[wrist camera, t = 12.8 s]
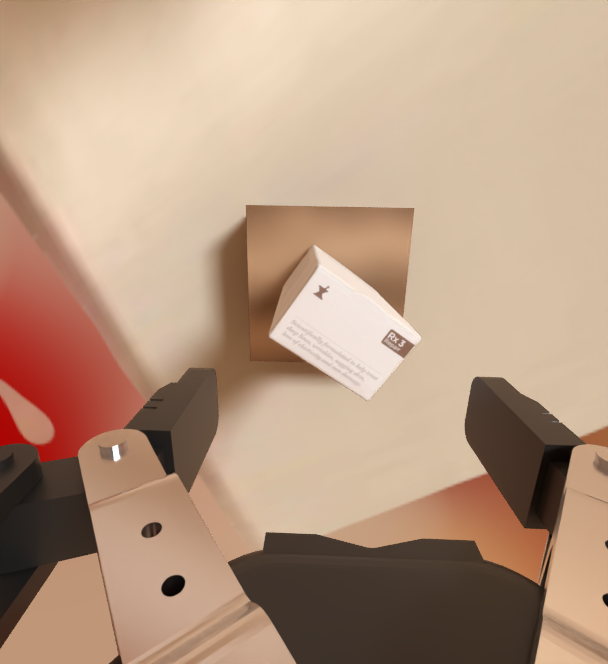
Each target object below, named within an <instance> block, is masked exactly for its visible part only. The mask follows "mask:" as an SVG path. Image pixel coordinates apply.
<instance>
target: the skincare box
mask: <svg viewBox="0 0 608 664" xmlns="http://www.w3.org/2000/svg"><path fill="white" fill-rule="evenodd" d="M269 338H271V339H272V340H274V341H275V342H277V343H278V344H280V345H281V346H283V347H285V348H286V349H288V350H289V351H291V352H292V353H294V354H295V355H297V356H298V357H300V358H302V359H303V360H305V361H306V362H308V363H309V364H311V365H312V366H314V367H315V368H317V369H319V370H320V371H322V372H323V373H325V374H326V375H328V376H329V377H331V378H332V379H334V380H336V381H337V382H339V383H340V384H342V385H343V386H345V387H346V388H348V389H349V390H351V391H352V392H354V393H356V394H357V395H359V396H360V397H362V398H364V399H365V400H366V401H369V400H370V399H371V398H372V397H373V395H374V394H375V393H376V392H377V391H378V389H379V388H380V387H381V386H382V385H383V383H384V382H385V381H386V380H387V379H388V377H389V376H390V375H391V374H392V373H393V372H394V370H395V369H396V368H397V367H398V366H399V365H400V363H401V362H402V361H403V360H404V359H405V357H406V356H407V355H408V354H409V353H410V352H411V351H412V349H413V348H414V347H415V346H416V345H417V344H418V343H419V342H420V340H421V337H420V336H419V334H418V333H417V332H416V331H415V330H414V329H413V328H412V327H411V326H410V325H409V324H408V323H407V322H406V321H405V320H404V319H403V318H402V317H401V316H400V315H399V314H398V313H397V312H396V311H395V310H394V309H393V308H392V307H391V306H390V305H389V304H388V303H387V302H386V301H385V300H384V299H383V298H382V297H381V296H380V295H379V293H378V292H377V291H376V290H374V289H373V288H372V287H371V286H369V285H368V284H367V283H366V282H364V281H363V280H362V279H360V278H359V277H358V276H356V275H355V274H354V273H352V272H351V271H350V270H348V269H347V268H346V267H344V266H343V265H342V264H340V263H339V262H338V261H336V260H335V259H334V258H332V257H331V256H329V255H328V254H327V253H325V252H324V251H322V250H321V249H320V248H318V247H317V246H316V245H312V246H311V247H310V249H309V250H308V252H307V253H306V254H305V256H304V257H303V258H302V260H301V261H300V263H299V264H298V265H297V267H296V268H295V270H294V271H293V273H292V274H291V275H290V277H289V278H288V280H287V281H286V283H285V284H284V286H283V288H282V292H281V295H280V299H279V302H278V305H277V308H276V311H275V315H274V317H273V321H272V325H271V327H270V331H269Z"/></svg>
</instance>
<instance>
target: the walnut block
mask: <svg viewBox="0 0 608 664" xmlns="http://www.w3.org/2000/svg"><path fill="white" fill-rule="evenodd" d="M413 215H414V208H372V207H317V206H262V205H246V224H247V260H248V295H249V331H250V361H285V362H306V361H305V360H303V359H302V358H300V357H298V356H297V355H295V354H294V353H292V352H291V351H289V350H288V349H286V348H285V347H283V346H281V345H280V344H278V343H277V342H275V341H274V340H272V339H271V338H269V331H270V327H271V325H272V321H273V317H274V315H275V311H276V308H277V305H278V302H279V299H280V295H281V292H282V288H283V286H284V284H285V283H286V281H287V280H288V278H289V277H290V275H291V274H292V273H293V271H294V270H295V268H296V267H297V265H298V264H299V263H300V261H301V260H302V258H303V257H304V256H305V254H306V253H307V252H308V250H309V249H310V247H311V246H312V245H316V246H317V247H318V248H320V249H321V250H322V251H324V252H325V253H327V254H328V255H329V256H331V257H332V258H334V259H335V260H336V261H338V262H339V263H340V264H342V265H343V266H344V267H346V268H347V269H348V270H350V271H351V272H352V273H354V274H355V275H356V276H358V277H359V278H360V279H362V280H363V281H364V282H366V283H367V284H368V285H369V286H371V287H372V288H373V289H374V290H376V291H377V292H378V293H379V295H380V296H381V297H382V298H383V299H384V300H385V301H386V302H387V303H388V304H389V305H390V306H391V307H392V308H393V309H394V310H395V311H396V312H397V313H398V314H399V315H400V316H401V317H402V318H403V313H404V303H405V293H406V283H407V274H408V264H409V254H410V244H411V235H412V225H413Z"/></svg>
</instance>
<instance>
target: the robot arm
mask: <svg viewBox="0 0 608 664" xmlns="http://www.w3.org/2000/svg"><path fill="white" fill-rule="evenodd" d="M217 427H218V397H217V380H216V372H215V370H214V369H209V368H189V369H188V370H187V371H186V373H185V374H184V375H183V376H182V378H181V379H180V380H179V381H178V383H170V384H168V385H166V386H164V387H163V388H161V389H159V390H158V391H157V392H156V393H155V394H154V395H153V396H152V397H151V398H150V401H148V402H147V403H146V404H145V405H144V407H143V409H141V410H140V411H139V412H138V413H137V414H136V415H135V417H134V418H133V419H132V420H131V421H130V422H129V423H128V424H127V426H126V427H125V428H124V429H119V430H114V431H109V432H106V433H103V434H100V435H98V436H96V437H94V438H92V439H91V440H89V441H88V442H87V443H85V444H84V445H83V446H82V447H81V449H80V450H79V453H78V456H77V457H72V458H66V459H60V460H54V461H47V462H41V463H40V458H39V454H38V450H37V449H36V448H35V447H34V446H32V445H29V444H10V445H5V446H1V447H0V648H1V647H2V645H3V644H4V642H5V641H6V639H7V638H8V636H9V634H10V633H11V632H12V630H13V629H14V627H15V626H16V624H17V623H18V621H19V620H20V618H21V617H22V615H23V614H24V612H25V611H26V609H27V608H28V606H29V605H30V603H31V602H32V600H33V599H34V598H35V596H36V595H37V593H38V592H39V590H40V588H41V587H42V586H43V584H44V583H45V581H46V580H47V578H48V577H49V575H50V574H51V572H52V571H53V569H54V568H55V566H56V564H57V563H58V561H62V560H67V559H71V558H75V557H80V556H84V555H88V554H92V553H97V554H98V559H99V563H100V568H101V573H102V577H103V583H104V587H105V592H106V597H107V602H108V606H109V611H110V616H111V621H112V626H113V631H114V636H115V641H116V645H117V650H118V656H117V657H116V658H115V659H114V660H113V661H112V662H110V663H109V664H608V448H607V447H603V446H597V445H588V444H586V443H584V442H583V441H582V440H581V439H580V438H579V437H578V436H576V435H575V434H574V433H573V432H572V431H571V430H569V429H568V428H567V427H566V426H565V425H564V424H562V423H559V420H558V419H557V418H555V417H554V416H553V415H552V414H549V411H547V410H546V409H545V408H544V407H543V406H542V405H540V404H539V403H538V402H536V401H534V400H532V399H530V398H528V397H526V396H525V395H523V394H521V393H520V392H518V391H517V390H516V389H515V388H514V387H513V386H512V385H511V384H509V383H508V382H507V381H506V380H505V379H504V378H498V377H475V378H474V380H473V382H472V385H471V390H470V396H469V402H468V407H467V413H466V419H465V435H466V438H467V441H468V443H469V445H470V446H471V448H472V449H473V451H474V452H475V454H476V455H477V457H478V458H479V460H480V461H481V463H482V465H483V466H484V468H485V469H486V471H487V472H488V474H489V475H490V477H491V478H492V480H493V481H494V483H495V484H496V486H497V487H498V489H499V490H500V492H501V493H502V495H503V497H504V498H505V500H506V501H507V503H508V504H509V506H510V507H511V509H512V510H513V512H514V513H515V515H516V516H517V518H518V519H519V521H520V522H521V524H522V525H523V527H524V528H531V529H547V530H548V531H549V535H548V539H547V542H546V546H545V550H544V555H543V559H542V564H541V568H540V573H539V577H538V582H537V583H535V582H533V581H532V580H530V579H528V578H526V577H525V576H523V575H521V574H519V573H517V572H515V571H513V570H511V569H508V568H506V567H504V566H501V565H498V564H496V563H493V562H490V561H487V560H483V558H482V556H481V554H480V551H479V549H478V547H477V545H476V543H475V541H467V540H443V539H442V540H441V539H419V540H414V541H408V542H403V543H399V544H393V545H388V546H383V547H378V548H366V547H363V546H359V545H355V544H351V543H347V542H344V541H340V540H336V539H332V538H328V537H325V536H321V535H317V534H293V533H269V532H266V535H265V541H264V548H263V550H260V551H256V552H252V553H249V554H246V555H243V556H241V557H238V558H236V559H234V560H231V561H229V562H227V561H226V559H225V557H224V555H223V554H222V552H221V550H220V549H219V547H218V545H217V543H216V541H215V540H214V538H213V536H212V534H211V533H210V531H209V529H208V527H207V526H206V524H205V522H204V520H203V519H202V517H201V515H200V514H199V512H198V510H197V508H196V506H195V504H194V503H193V501H192V499H191V497H190V496H189V491H190V489H191V487H192V485H193V482H194V480H195V478H196V476H197V474H198V472H199V469H200V467H201V465H202V463H203V461H204V458H205V456H206V454H207V452H208V449H209V447H210V445H211V443H212V441H213V438H214V436H215V434H216V431H217Z"/></svg>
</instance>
